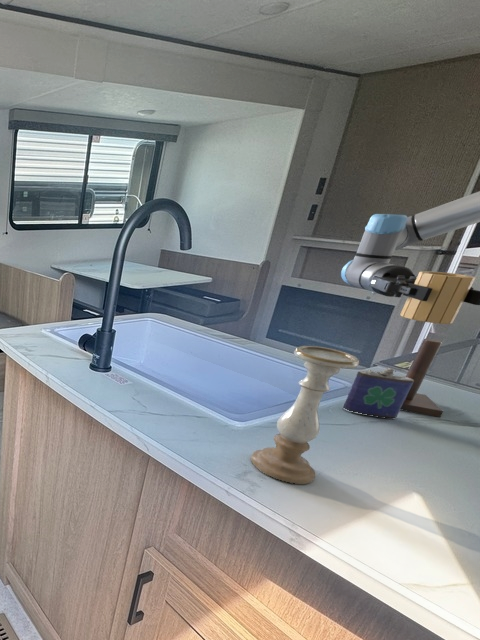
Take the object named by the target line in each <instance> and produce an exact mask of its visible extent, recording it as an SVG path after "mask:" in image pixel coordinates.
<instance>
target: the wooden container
mask: <svg viewBox="0 0 480 640" xmlns="http://www.w3.org/2000/svg"><path fill="white" fill-rule="evenodd" d="M475 279H476V276H473V275H467V274H463V273H461V274H460V273H454V272H444V271H443V272H441V271H432V270H431V271H430V270H427V271H426V270H421V271H419V272H418V275H417V279H416V281H415V283H414V284H416V285H420V286H424V287H428V288H432V291H431V293H430V295H429V298H428V300H427V301H421V300H418V299H415V298H411V297H408V296H407V299H406V301H405V303H404V305H403V306H402V307H403V308H402V309H401V312H400V314H399V315H400V317H402V318H405V319H408V320H413V321H418V322H424V323H428V324H429V323H431V324H438V325H451V324H453V323H454V321H455V319H456V317H457V316H458V314H459V311H460V310H461V307H462V306H463V303H465V302H464V300H465V298H466V296H467V294H468V292H469V290H470V288H471V287H473V283H474V282H475Z"/></svg>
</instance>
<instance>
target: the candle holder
mask: <svg viewBox="0 0 480 640" xmlns="http://www.w3.org/2000/svg"><path fill="white" fill-rule="evenodd" d="M293 354H294V356H295V357H296V358H298V359H300V360H302V361H305V362H304V363H303V366H304V367H305V369H306V376H305V377H303V378H302V379H301V380H299V381H298V385H299V386H301V387H300V391H299V392H298V395H297V397H296V399H295V401H294V402H293V404H292V405H291V406H290V407H289V408H288V409H287V410H285V411H284V412H283V413H282V414H281V415H280V416H279V418H278V419H277V422H276V429H277V431H278V433H277V434H275V435H274V436H273V441H274V443H275V447H273V446H272V447H271V446H270V447H269V446H268V447H265V448H262V449H258V450H255V451H254V452H252V454H251V457H250V461H251V460H252V462H251V464H252V463H253V464H254V465H255V466H256V467H257V468H258V469H259V470H261V471H262V472H264V473H265V474H264V473H263V474H264V475H266V474H267V475H266V476H268V475H270V476H272V477H274V478H273V479H275V478H276V479H275V480H277V479H279V480H278V481H280V480H282V481H281V482H284V481H286V482H285V483H287V482H290V483H289V484H293V483H295V484H294V485H308V484H311V483H312V482H313V481H314V480H315V478H316V474H317V473H316V471H315V469H314V468H313V466H311V464H310V463H309V461H308V460H307V459H306V458H304V456H302V455H303V454H304V453H305V452H307V451H309V450H310V449H311V447H310V446H311V445H310V443H308V442H311V441H313V440H315V439H316V438H317V437H318V436H319V434H320V431H321V430H320V429H321V423H320V418H319V406H320V403H321V401H322V399H323V395H324V394H325V393H328V392H330V391H331V387H330V384H329V380H330V378H331V377H333V376H334V375H337V374H339V373H340V371H341V370H351V369H356V368H358V367H359V365H360V359H359V358H358V357H357V356H355V355H353V354H350V353H349V352H345V351H342V350H338V349H335V348H330V347H329V348H328V347H323V346H316V345H300V346H299V345H298V346H297V347H296V348H294V351H293ZM253 464H252V465H253ZM254 465H253V466H254ZM255 466H254V467H255ZM256 467H255V468H256ZM257 468H256V469H257ZM258 469H257V470H258ZM259 470H258V471H259ZM261 471H260V472H261ZM262 472H261V473H262ZM270 476H269V477H270ZM272 477H271V478H272Z"/></svg>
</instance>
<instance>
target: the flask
mask: <svg viewBox="0 0 480 640" xmlns="http://www.w3.org/2000/svg"><path fill="white" fill-rule="evenodd" d="M394 372H395V373H396V372H397V370H395V369H394V368H393V367H390V366H387V367H386V369H385V370H383V371H377V370H374V371H372V370H371V369H368V370H359V371H358V372H357V373H356V376H355V378H354V381H353V383H352V385H351V388H350V390H349V392H348V395H347V397H346V399H345V402H344V403H343V407H342V409H343V408H345V409H347V410H349V411H353V412H358V413H362V414H367V415H373V416H372V417H374V416H378V417H385V418H384V419H386V418H395V419H397V417H398V415H399V413H400V411H401V410H400V408H401V406H402V405H403V402H404V401H405V399H406V397H407V394H408V392H409V390H410V388H411V386H412V384H413V382H414V380H413V379H411V378H408V377H406V376H402V375H401V376H400V375H395V373H394ZM378 417H377V418H378Z"/></svg>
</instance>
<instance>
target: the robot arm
mask: <svg viewBox="0 0 480 640" xmlns="http://www.w3.org/2000/svg"><path fill="white" fill-rule="evenodd" d="M478 223H480V190H479V191H476V192H474V193H471V194H469V195H468V194H467V195H466V196H462V197H460V198H457V199H455V200H452V201H449V202H446V203H444V204H439V205H438V206H435V207H432V208H429V209H426V210H423V211H421V212H418V213H415V214H412V215H410V216H407V214H391V213H374V214H373V215H371V216H370V218H369V220H368V222H367V225H366V226H364V232H363V234H362V237H361V240H360V243H359V245H358V248H357V250H356V253H355V255H354V258H353V259H352V260H349V261H348V262H347V263H345V265H344V266H343V267H342V269H341V272H340V276H341V279H342V280H343V282H344V283H346V284H348V285H349V286H351V287H354V288H357V289H362V290H366V291H369V292H371V294H372V295H377V294H378V295H381V296H384V297H389V298H392V297H394V298H402V296H405V297H407V298H408V297H411V298H415V299H418V300H421V301H427V300H428V298H429V295H430V293H431V291H432V288H428V287H424V286H420V285H416V284H414V283H415V281H416V279H417V276H418V275H417V276H416V275H415V273H414V271H413V270H412V269H411V268H410V267H406V266H402V265H397V264H393V263H390V261H391V260H392V258H393V254H394V252H395V251H397V250H401V249H403V248H406V247H408V246H411V245H413V244H417V243H420V242H422V241H425V240H428V239H431V238H434V237H437V236H441V235H444V234H447V233H450V232H453V231H456V230H460V229H463V228H466V227H468V226H469V227H470V226H472V225H475V224H478ZM463 303H467V304H470V305H473V306H480V290H477V289H475V288H474V287H473V286H471V288H470V290H469V292H468V294H467V296H466V298H465V300H464V302H463Z"/></svg>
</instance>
